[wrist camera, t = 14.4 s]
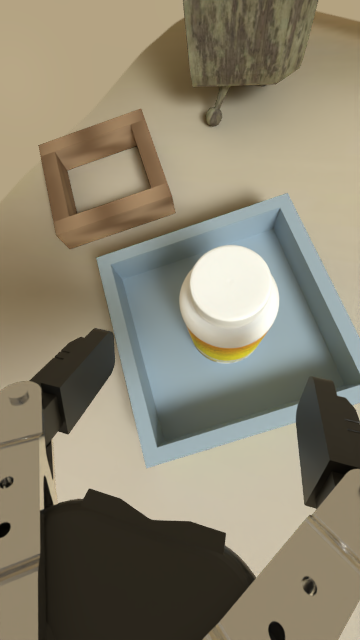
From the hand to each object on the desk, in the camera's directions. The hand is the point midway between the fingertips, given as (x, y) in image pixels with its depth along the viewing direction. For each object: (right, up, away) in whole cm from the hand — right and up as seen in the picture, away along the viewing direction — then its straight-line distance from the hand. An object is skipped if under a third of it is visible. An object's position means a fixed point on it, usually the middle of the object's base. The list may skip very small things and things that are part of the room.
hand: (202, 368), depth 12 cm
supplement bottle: (+3, +1, +12) cm, 12 cm away
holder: (-8, +16, +18) cm, 25 cm away
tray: (+3, +1, +13) cm, 13 cm away
